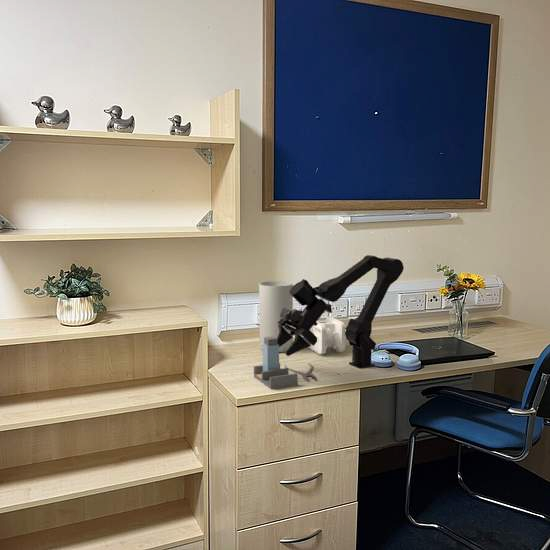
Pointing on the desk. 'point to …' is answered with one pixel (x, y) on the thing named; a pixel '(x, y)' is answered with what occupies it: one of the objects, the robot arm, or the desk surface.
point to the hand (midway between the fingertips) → (280, 351)
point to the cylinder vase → (273, 309)
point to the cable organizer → (329, 336)
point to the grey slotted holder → (275, 377)
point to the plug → (270, 354)
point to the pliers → (305, 375)
